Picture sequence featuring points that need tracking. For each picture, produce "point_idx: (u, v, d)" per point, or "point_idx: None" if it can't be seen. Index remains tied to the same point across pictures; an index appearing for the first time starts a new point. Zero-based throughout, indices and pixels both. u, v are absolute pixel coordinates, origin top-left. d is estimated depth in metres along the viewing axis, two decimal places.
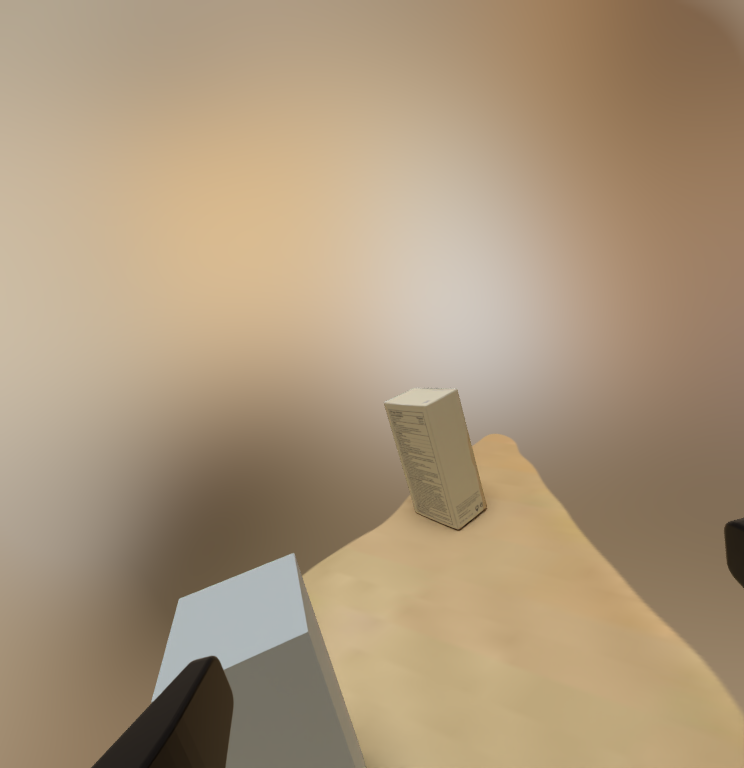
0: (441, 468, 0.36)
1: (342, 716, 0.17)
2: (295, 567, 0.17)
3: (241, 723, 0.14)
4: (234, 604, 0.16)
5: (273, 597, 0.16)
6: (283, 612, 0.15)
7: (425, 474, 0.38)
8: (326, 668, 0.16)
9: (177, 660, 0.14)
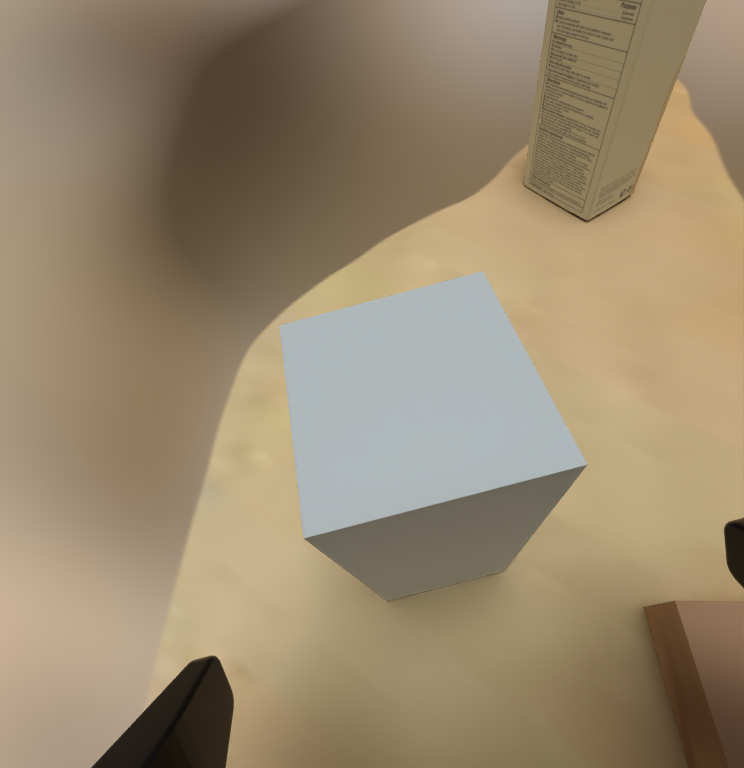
0: (615, 122, 0.22)
1: None
2: (499, 305, 0.09)
3: (426, 535, 0.09)
4: (396, 362, 0.09)
5: (476, 364, 0.08)
6: (513, 405, 0.08)
7: (574, 129, 0.24)
8: None
9: (324, 458, 0.08)
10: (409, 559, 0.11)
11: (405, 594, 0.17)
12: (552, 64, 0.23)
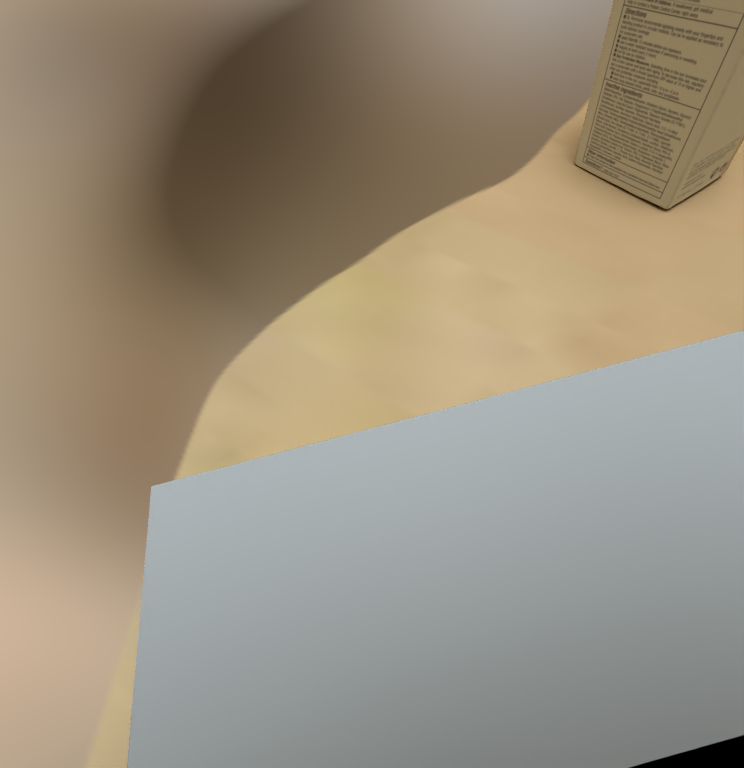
0: (734, 65, 0.15)
1: None
2: None
3: None
4: (568, 721, 0.02)
5: None
6: None
7: (662, 81, 0.17)
8: None
9: None
10: None
11: None
12: None
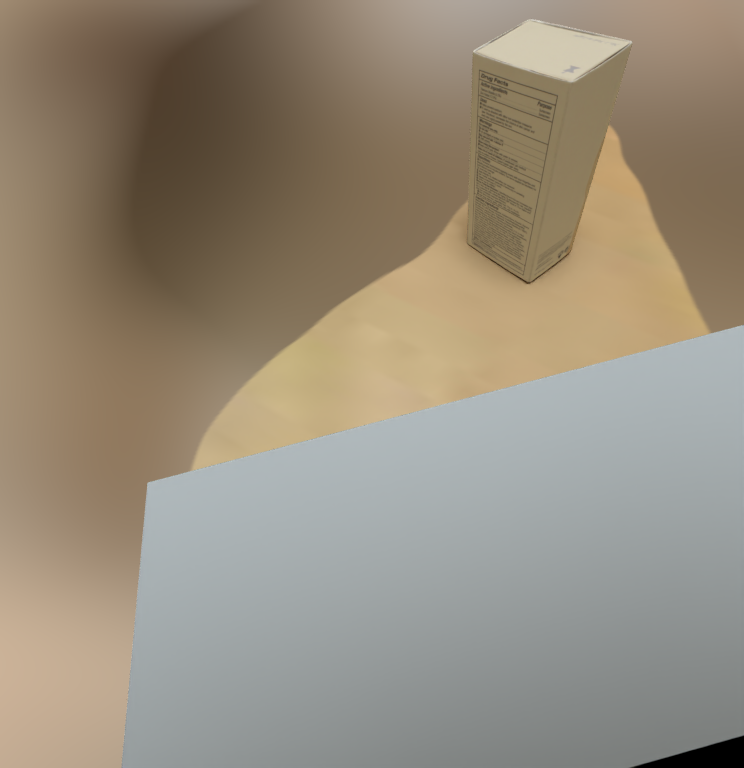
0: (544, 202, 0.23)
1: None
2: None
3: None
4: (556, 713, 0.02)
5: None
6: None
7: (508, 202, 0.25)
8: None
9: None
10: None
11: None
12: (481, 144, 0.24)
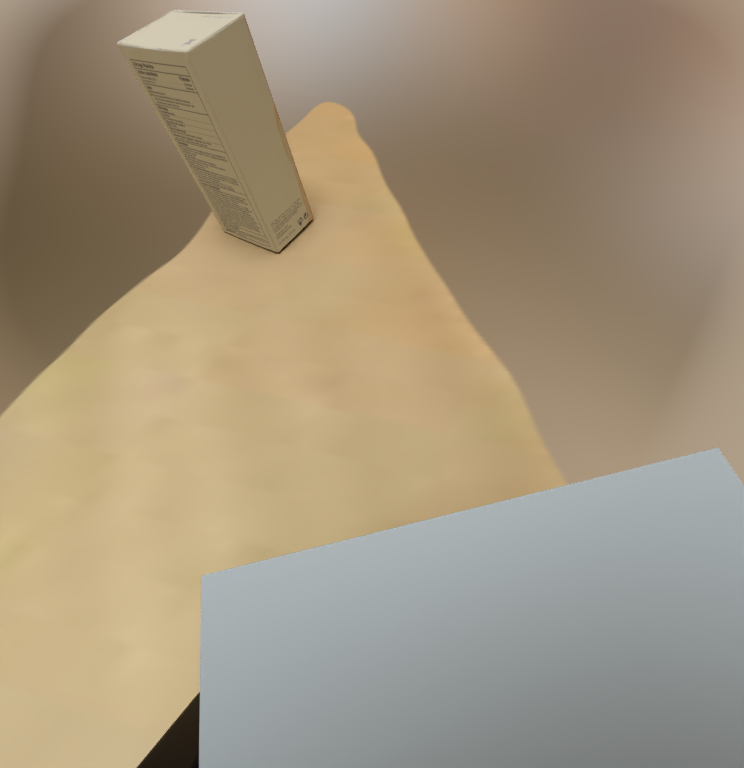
0: (239, 171, 0.24)
1: None
2: None
3: None
4: None
5: None
6: None
7: (220, 180, 0.26)
8: None
9: None
10: None
11: None
12: (173, 130, 0.25)
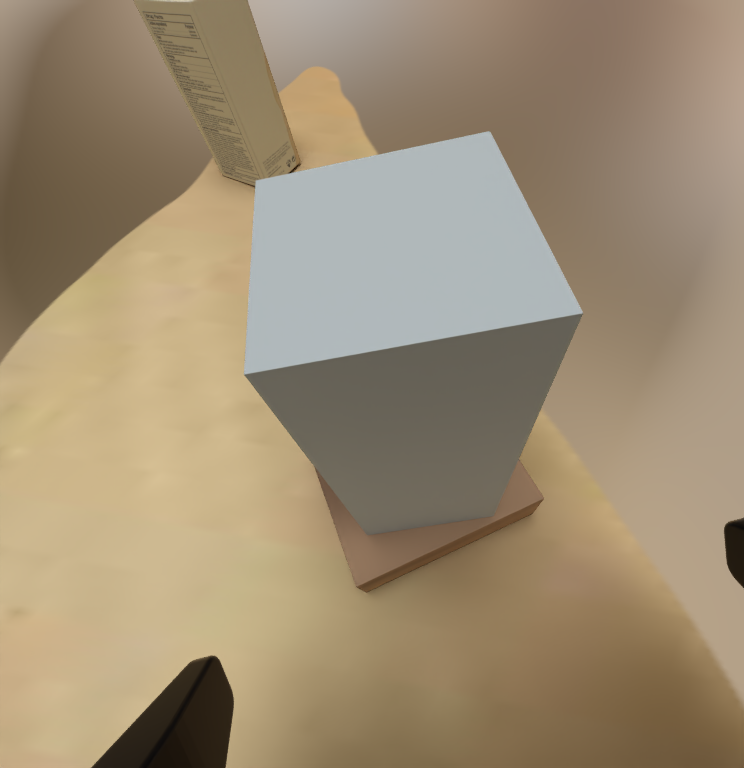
0: (235, 110, 0.29)
1: None
2: (503, 162, 0.08)
3: (395, 415, 0.08)
4: (376, 214, 0.08)
5: (468, 216, 0.07)
6: (503, 255, 0.07)
7: (219, 122, 0.30)
8: None
9: (280, 301, 0.07)
10: (381, 459, 0.10)
11: (386, 528, 0.16)
12: (178, 76, 0.29)
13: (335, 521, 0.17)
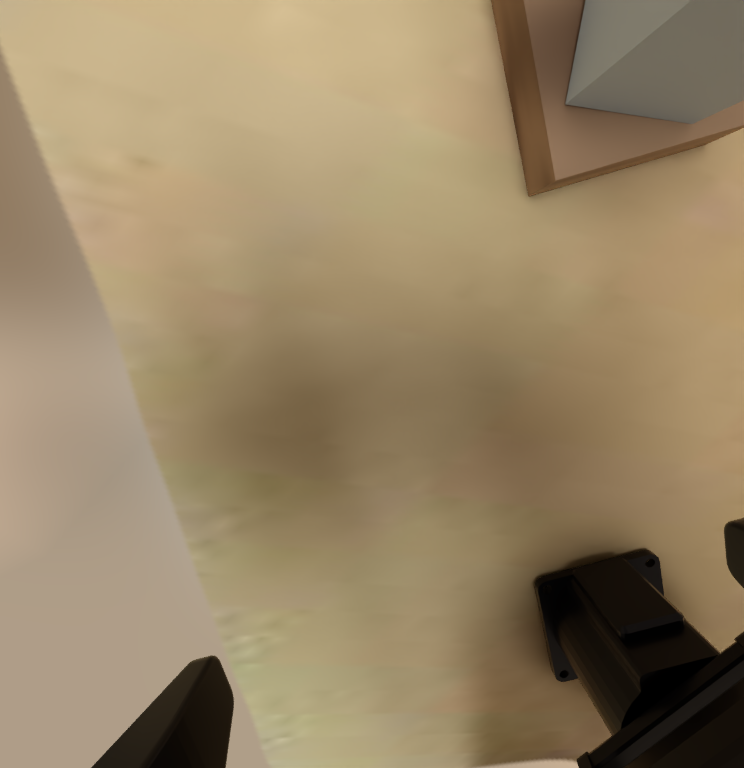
0: None
1: None
2: None
3: None
4: None
5: None
6: None
7: None
8: None
9: None
10: None
11: (597, 99, 0.15)
12: None
13: (544, 107, 0.15)
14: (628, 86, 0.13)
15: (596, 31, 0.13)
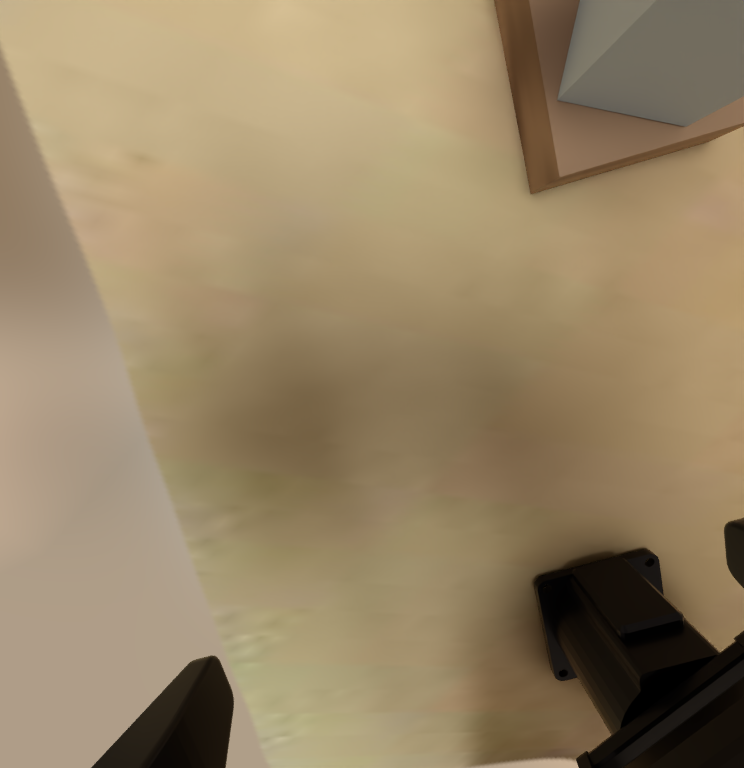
0: None
1: None
2: None
3: None
4: None
5: None
6: None
7: None
8: None
9: None
10: None
11: (589, 95, 0.14)
12: None
13: (548, 102, 0.15)
14: (618, 80, 0.13)
15: (588, 25, 0.13)
